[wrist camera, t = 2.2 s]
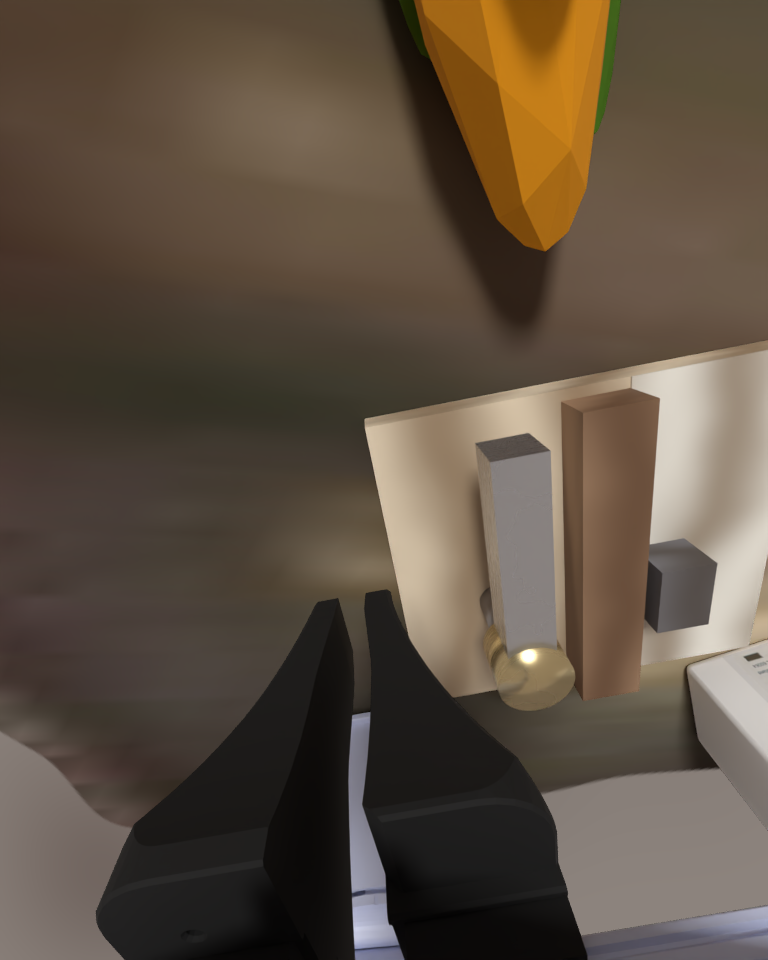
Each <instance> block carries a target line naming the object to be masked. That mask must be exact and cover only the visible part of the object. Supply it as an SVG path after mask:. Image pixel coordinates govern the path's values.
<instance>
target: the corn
mask: <svg viewBox="0 0 768 960" xmlns="http://www.w3.org/2000/svg"><path fill="white" fill-rule="evenodd" d="M399 2H400V5H401V8H402V11H403V14H404V16H405V19H406V22H407V25H408V28H409V30H410V32H411V34H412V36H413V39H414V41H415V43H416V45H417V47H418V49H419V51H420V54H421V55H423V56H425V57H427V58H429V59H430V60H431V61H432V63H433V66H434V68H435V71H436V73H437V76H438V78H439V80H440V83H441V85H442V88H443V90H444V93H445V95H446V97H447V100H448V102H449V105H450V107H451V109H452V112H453V114H454V117H455V119H456V122H457V124H458V126H459V129H460V131H461V134H462V136H463V139H464V141H465V143H466V146H467V148H468V151H469V153H470V155H471V158H472V160H473V163H474V165H475V168H476V170H477V172H478V175H479V177H480V180H481V182H482V185H483V187H484V189H485V192H486V194H487V197H488V199H489V201H490V204H491V206H492V209H493V211H494V214H495V216H496V218H497V220H498V221H499V222H500V223H501V224H502V225H503V226H504V227H505V228H506V229H507V230H508V231H509V232H511V233H512V234H513V235H514V236H515V237H516V238H517V239H518V240H519V241H520V242H521V243H522V244H523V245H524V246H527V247H531V248H534V249H538V250H541V251H547V250H548V249H549V248H550V247H551V246H552V245H553V244H555V243H556V242H557V241H558V240H559V239H560V238H562V237H563V236H564V235H565V234H566V233H567V232H568V231H569V228H570V226H571V224H572V221H573V219H574V216H575V214H576V212H577V209H578V207H579V204H580V202H581V200H582V197H583V195H584V193H585V190H586V186H587V179H588V171H589V164H590V157H591V149H592V142H593V135H594V134H595V133H596V132H597V131H598V129H599V126H600V123H601V120H602V118H603V115H604V112H605V107H606V102H607V97H608V92H609V87H610V82H611V77H612V71H613V63H614V54H615V46H616V37H617V29H618V20H619V12H620V3H621V0H399Z"/></svg>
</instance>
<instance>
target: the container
mask: <svg viewBox="0 0 768 960" xmlns="http://www.w3.org/2000/svg"><path fill="white" fill-rule="evenodd" d="M687 675H688V681H689V687H690V694H691V700H692V706H693V712H694V718H695V724H696V730H697V736H698V739H699V741H700V743H701V744H702V745H703V747H704V748H705V749H706V751H707V752H708V753H709V754H710V756H711V757H712V758H713V760H714V761H715V762H716V764H717V765H718V766H719V768H720V769H721V770H722V771H723V773H724V774H725V775H726V777H727V778H728V779H729V780H730V782H731V783H732V785H733V786H734V787H735V788H736V790H737V791H738V792H739V794H740V795H741V796H742V798H743V799H744V800H745V802H746V803H747V804H748V805H749V807H750V808H751V809H752V811H753V812H754V813H755V815H756V816H757V817H758V819H759V820H760V821H761V823H762V824H763V825H764V826H765V828H766V829H767V830H768V639H767V640H763V641H760V642H757V643H754V644H751V645H749V646H748V647H742V648H739V649H736V650H733V651H730V652H727V653H723V654H720V655H717V656H714V657H711V658H708V659H705V660H702V661H699V662H696V663H693V664H690V665H688V667H687Z"/></svg>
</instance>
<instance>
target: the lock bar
mask: <svg viewBox="0 0 768 960" xmlns="http://www.w3.org/2000/svg"><path fill="white" fill-rule="evenodd" d="M475 447H476V457H477V466H478V476H479V485H480V495H481V504H482V514H483V523H484V533H485V542H486V552H487V561H488V571H489V580H490V590H491V599H492V609H493V618H494V624H493V625H491V627H490V628H489V629H488V630H487V632H486V634H485V636H484V639H483V649H484V652H485V655H486V658H487V661H488V664H489V666H490V669H491V672H492V675H493V678H494V681H495V683H496V686H497V689H498V692H499V695H500V697H501V699H502V700H503V701H504V702H505V703H506V704H507V705H509V706H510V707H513V708H515V709H518V710H524V711H534V710H540V709H544V708H547V707H550V706H552V705H554V704H556V703H558V702H559V701H561V700H562V699H563V698H565V697H566V696H567V695H568V693H569V692H570V691H571V689H572V687H573V685H574V682H575V671H574V668H573V666H572V665H571V663H570V661H569V659H568V658H567V656H566V654H565V652H564V651H563V649H562V647H561V645H560V644H559V642H558V640H557V633H556V601H555V570H554V538H553V507H552V475H551V451H550V450H549V449H548V448H547V447H545V446H544V445H543V444H542V443H541V442H539V441H538V440H537V439H536V438H534V437H533V436H532V435H531V434H529V433H525V434H520V435H515V436H509V437H504V438H499V439H494V440H489V441H484V442H478V443H475Z"/></svg>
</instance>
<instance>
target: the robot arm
mask: <svg viewBox="0 0 768 960" xmlns="http://www.w3.org/2000/svg"><path fill="white" fill-rule="evenodd" d="M364 610H365V618H366V626H367V634H368V641H369V649H370V657H371V670H372V676H371V710H370V712H367V713H361V714H356V715H352V713H353V698H354V664H353V649H352V646H351V642H350V639H349V635H348V632H347V628H346V625H345V621H344V617H343V614H342V610H341V607H340V603H339V600H338V598H337V599H332V600H326V601H321V602H318V603H317V604H316V605H315V607H314V609H313V611H312V613H311V615H310V617H309V619H308V621H307V623H306V625H305V627H304V628H303V630H302V632H301V634H300V636H299V638H298V639H297V641H296V643H295V644H294V646H293V648H292V650H291V651H290V653H289V655H288V656H287V658H286V660H285V661H284V663H283V665H282V666H281V668H280V669H279V671H278V672H277V674H276V675H275V677H274V678H273V680H272V681H271V683H270V684H269V686H268V687H267V689H266V690H265V691H264V693H263V694H262V696H261V697H260V698H259V700H258V701H257V702H256V704H255V705H254V706H253V707H252V709H251V710H250V711H249V713H248V714H247V715H246V716H245V718H244V719H243V720H242V721H241V722H240V723H239V725H238V726H237V727H236V728H235V729H234V730H233V731H232V733H231V734H230V735H229V736H228V737H227V738H226V739H225V740H224V742H223V743H222V744H221V745H220V746H219V747H218V748H217V749H216V750H215V751H214V752H213V753H212V754H211V755H210V756H209V757H208V758H207V759H206V760H205V761H204V762H203V763H202V764H201V765H200V766H199V767H198V768H197V769H196V770H195V771H194V772H193V773H192V774H191V775H190V776H189V777H188V778H187V779H186V780H185V781H184V782H183V783H182V784H180V785H179V786H178V787H177V788H176V789H175V790H174V791H173V792H171V793H170V794H169V795H168V796H167V797H166V798H165V799H163V800H162V801H161V802H160V803H159V804H158V805H156V806H155V807H154V808H153V809H152V810H151V811H149V812H148V813H147V814H146V815H145V816H144V817H142V818H141V819H140V820H139V821H138V822H136V823H135V824H134V826H133V828H132V830H131V832H130V834H129V836H128V838H127V840H126V842H125V844H124V846H123V848H122V851H121V853H120V856H119V858H118V860H117V863H116V865H115V867H114V870H113V872H112V874H111V877H110V879H109V882H108V884H107V886H106V889H105V891H104V894H103V896H102V898H101V901H100V903H99V905H98V908H97V910H96V921H97V925H98V927H99V929H100V931H101V932H102V934H103V936H104V937H105V938H106V940H107V941H108V942H109V943H110V944H111V945H112V946H113V947H114V948H115V950H116V951H117V952H118V953H119V954H120V955H121V956H122V957H123V958H124V959H125V960H768V905H764V906H759V907H753V908H746V909H740V910H734V911H728V912H722V913H716V914H711V915H704V916H698V917H692V918H686V919H679V920H674V921H668V922H661V923H655V924H649V925H643V926H638V927H631V928H625V929H619V930H613V931H607V932H601V933H595V934H588V935H582V936H581V934H580V932H579V929H578V926H577V923H576V920H575V917H574V914H573V912H572V908H571V906H570V903H569V900H568V897H567V896H568V891H567V887H566V883H565V881H564V878H563V875H562V872H561V869H560V866H559V864H558V846H557V830H556V826H555V823H554V820H553V817H552V815H551V813H550V811H549V809H548V806H547V805H546V803H545V801H544V799H543V797H542V795H541V793H540V792H539V790H538V788H537V787H536V785H535V784H534V782H533V780H532V779H531V777H530V776H529V774H528V773H527V771H526V770H525V768H524V767H523V765H522V764H521V762H520V761H519V759H518V758H517V757H516V756H515V755H514V754H513V753H511V752H510V751H509V750H508V749H506V748H505V747H504V746H503V745H502V744H500V743H499V742H498V741H497V740H496V739H495V738H493V737H492V736H491V735H490V734H489V733H488V732H487V731H486V730H485V729H484V728H482V727H481V726H480V725H479V724H478V723H477V722H476V721H475V720H474V719H473V718H472V717H471V716H470V715H469V714H468V713H467V712H466V711H465V710H464V709H463V708H462V707H461V705H460V704H459V703H458V702H457V701H456V700H455V699H454V698H453V697H452V696H451V695H450V694H449V693H448V691H447V690H446V689H445V688H444V687H443V685H442V684H441V683H440V682H439V681H438V679H437V678H436V677H435V675H434V674H433V673H432V672H431V670H430V669H429V668H428V666H427V665H426V663H425V662H424V660H423V659H422V658H421V656H420V655H419V653H418V651H417V650H416V648H415V647H414V645H413V644H412V642H411V640H410V639H409V637H408V635H407V633H406V631H405V630H404V628H403V626H402V624H401V622H400V620H399V618H398V615H397V613H396V611H395V608H394V605H393V601H392V596H391V592H390V591H388V590H380V591H375V592H369V593H366V596H365V607H364Z"/></svg>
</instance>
